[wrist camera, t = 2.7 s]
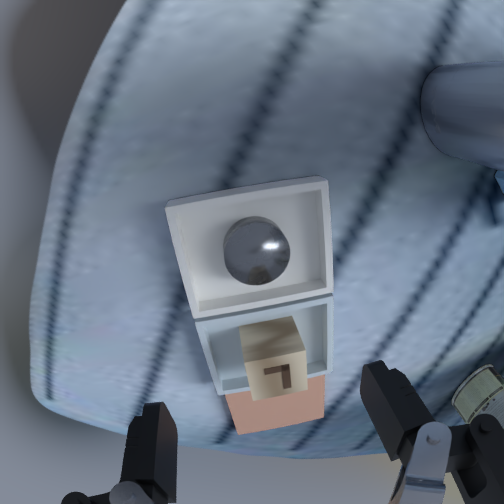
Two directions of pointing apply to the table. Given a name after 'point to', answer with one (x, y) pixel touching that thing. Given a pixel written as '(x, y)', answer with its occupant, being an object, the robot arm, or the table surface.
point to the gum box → (500, 179)
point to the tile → (277, 408)
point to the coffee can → (481, 395)
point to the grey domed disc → (255, 250)
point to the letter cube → (274, 358)
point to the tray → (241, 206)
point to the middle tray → (227, 325)
